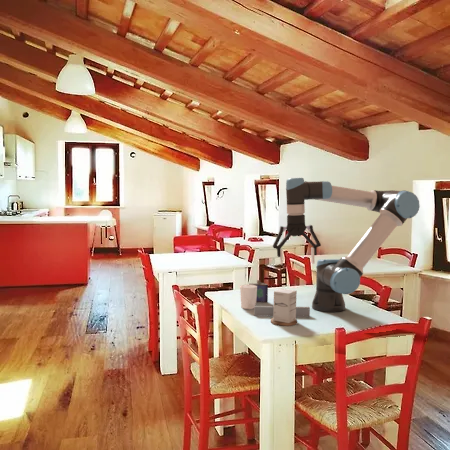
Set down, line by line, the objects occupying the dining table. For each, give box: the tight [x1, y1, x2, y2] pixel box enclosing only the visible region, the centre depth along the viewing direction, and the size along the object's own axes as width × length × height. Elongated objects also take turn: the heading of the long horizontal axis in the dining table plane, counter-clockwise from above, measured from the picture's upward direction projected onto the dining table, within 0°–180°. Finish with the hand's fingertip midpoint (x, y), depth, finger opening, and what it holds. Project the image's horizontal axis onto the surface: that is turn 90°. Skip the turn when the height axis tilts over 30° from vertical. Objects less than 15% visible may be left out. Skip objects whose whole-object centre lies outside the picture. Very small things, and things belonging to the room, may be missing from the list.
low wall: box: [253, 305, 311, 318], centre depth 218 cm, size 24×2×4 cm, turn 88°
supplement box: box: [272, 288, 298, 323], centre depth 207 cm, size 7×7×13 cm
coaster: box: [270, 317, 298, 327], centre depth 208 cm, size 11×11×1 cm
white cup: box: [239, 284, 257, 310], centre depth 232 cm, size 8×8×10 cm
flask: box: [248, 279, 269, 304], centre depth 243 cm, size 9×3×11 cm, turn 79°
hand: (297, 263), depth 213 cm, fingers open, 13 cm apart
